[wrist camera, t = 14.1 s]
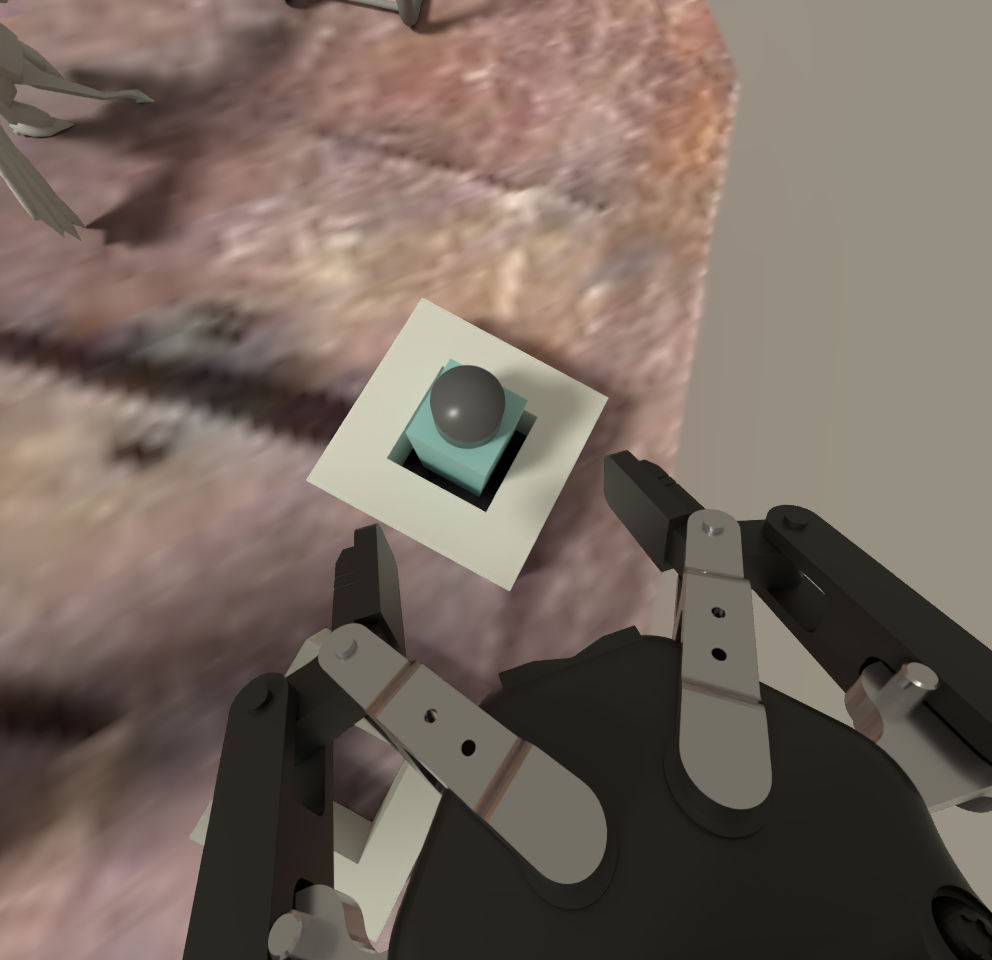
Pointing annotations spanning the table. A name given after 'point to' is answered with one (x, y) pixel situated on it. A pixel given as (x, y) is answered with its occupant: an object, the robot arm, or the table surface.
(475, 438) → the plug
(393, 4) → the newton's cradle
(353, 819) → the holster
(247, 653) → the table surface
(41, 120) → the fairy figurine
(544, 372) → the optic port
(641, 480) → the robot arm
